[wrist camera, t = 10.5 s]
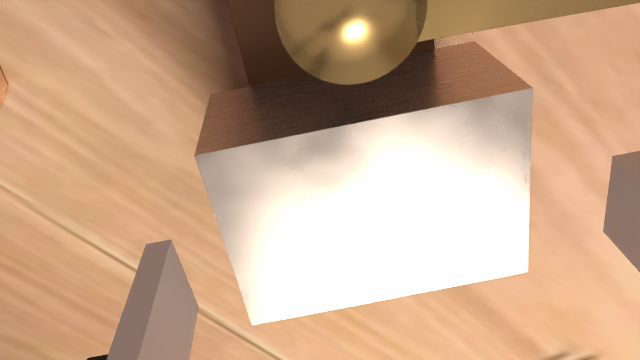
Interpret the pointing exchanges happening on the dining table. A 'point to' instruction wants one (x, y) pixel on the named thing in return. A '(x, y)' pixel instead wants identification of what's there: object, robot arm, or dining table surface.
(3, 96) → the milkshake
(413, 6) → the lever
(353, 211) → the grey block on baseplate
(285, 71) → the body
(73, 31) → the dining table surface
